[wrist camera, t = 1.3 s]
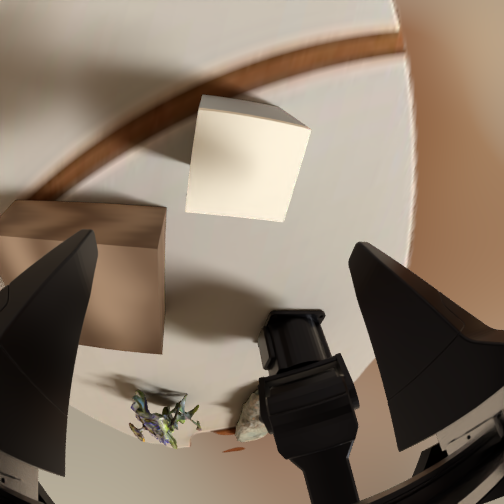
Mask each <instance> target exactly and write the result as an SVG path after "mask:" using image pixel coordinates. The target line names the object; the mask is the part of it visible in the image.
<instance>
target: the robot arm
mask: <svg viewBox="0 0 504 504" xmlns="http://www.w3.org/2000/svg"><path fill="white" fill-rule="evenodd" d="M97 259H98V248H97V243H96V238H95V233H94V231H93V230H92V229H81V230H79V231H78V232H77V233H75V234H74V235H72V236H71V237H69V238H68V239H66V240H65V241H63V242H62V243H61V244H59V245H58V246H56V247H55V248H54V249H52V250H51V251H50V252H48V253H47V254H46V255H44V256H43V257H42V258H40V259H39V260H38V261H36V262H35V263H34V264H32V265H31V266H30V267H29V268H27V269H26V270H25V271H24V272H22V273H21V274H20V275H19V276H17V277H16V278H15V279H14V280H13V281H11V282H10V283H9V285H7V286H5V287H4V288H3V289H2V290H1V291H0V504H55V503H54V502H53V501H52V500H51V498H50V497H49V496H48V495H47V493H46V491H45V490H44V489H43V487H42V486H41V484H40V483H39V482H38V468H39V469H41V470H44V471H47V472H50V473H53V474H56V475H60V476H63V477H65V448H66V447H65V446H66V429H67V415H68V406H69V398H70V390H71V383H72V377H73V371H74V365H75V360H76V354H77V349H78V345H79V340H80V335H81V331H82V327H83V323H84V318H85V315H86V311H87V307H88V303H89V299H90V295H91V290H92V284H93V278H94V273H95V268H96V263H97ZM349 269H350V273H351V277H352V280H353V285H354V289H355V293H356V297H357V300H358V304H359V307H360V310H361V313H362V315H363V318H364V322H365V325H366V328H367V331H368V334H369V337H370V340H371V344H372V347H373V350H374V354H375V357H376V360H377V364H378V367H379V371H380V374H381V378H382V381H383V386H384V389H385V393H386V397H387V400H388V406H389V410H390V414H391V418H392V423H393V427H394V432H395V437H396V442H397V447H398V450H399V452H401V451H403V450H405V449H407V448H409V447H411V446H414V445H416V444H418V443H420V442H421V441H424V440H426V439H427V438H429V437H431V436H433V435H435V434H436V436H437V439H438V443H437V444H435V445H433V446H431V447H430V448H428V449H426V450H424V451H422V452H421V455H420V458H419V461H418V463H417V466H416V468H415V471H414V474H413V476H412V478H410V479H408V480H406V481H404V482H402V483H400V484H398V485H396V486H394V487H392V488H390V489H388V490H385V491H383V492H381V493H378V494H376V495H374V496H371V497H369V498H366V499H364V500H361V501H360V500H359V497H358V493H357V489H356V485H355V481H354V477H353V474H352V470H351V466H350V463H349V455H350V452H351V449H352V446H353V443H354V440H355V438H356V434H357V429H358V422H357V418H356V415H355V411H354V410H356V409H358V408H359V400H358V396H357V393H356V389H355V386H354V384H353V381H352V379H351V376H350V374H349V372H348V369H347V367H346V365H345V363H344V360H343V358H342V356H341V353H338V354H335V356H332V355H331V352H330V350H329V347H328V344H327V341H326V339H325V336H324V333H323V330H322V328H321V325H320V324H321V323H322V321H323V319H324V318H325V313H324V311H273V312H271V313H270V314H269V317H268V319H267V322H266V324H265V326H264V327H263V328H262V330H261V333H260V335H259V338H258V347H259V349H260V355H261V360H262V365H263V369H265V370H268V372H269V376H268V377H261V378H259V385H258V390H259V404H260V406H259V421H260V422H261V423H263V424H264V425H265V427H266V429H267V431H268V433H270V434H273V435H274V438H275V442H276V445H277V449H278V452H279V453H280V454H281V455H282V456H283V457H284V458H285V459H289V460H290V461H291V462H293V463H294V464H295V465H296V466H297V467H299V468H300V469H301V470H302V471H303V474H304V477H305V481H306V485H307V489H308V492H309V496H310V500H311V504H484V503H486V502H489V501H492V500H495V499H497V498H500V497H503V496H504V330H496V329H493V328H490V327H489V326H487V325H485V324H484V323H483V322H481V321H480V320H478V319H477V318H475V317H474V316H473V315H471V314H470V313H468V312H467V311H466V310H464V309H463V308H461V307H460V306H458V305H457V304H456V303H454V302H453V301H452V300H450V299H449V298H447V297H446V296H445V295H443V294H442V293H441V292H439V291H438V290H437V289H435V288H434V287H432V286H431V285H429V284H428V283H427V282H425V281H424V280H423V279H421V278H420V277H418V276H417V275H416V274H414V273H413V272H411V271H410V270H409V269H407V268H406V267H404V266H403V265H401V264H400V263H398V262H397V261H395V260H394V259H392V258H391V257H389V256H388V255H386V254H385V253H383V252H382V251H380V250H379V249H377V248H376V247H374V246H373V245H371V244H370V243H368V242H357V243H356V245H355V247H354V249H353V251H352V254H351V256H350V258H349Z"/></svg>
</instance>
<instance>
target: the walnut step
mask: <svg viewBox="0 0 504 504" xmlns="http://www.w3.org/2000/svg"><path fill="white" fill-rule="evenodd" d="M166 210H167V208H165V207H152V206H138V205H123V204H107V203H88V202H65V201H33V200H15V201H14V202H13V203H12V204H11V206H10V207H9V208H8V209H7V210H6V211H5V212H4V213H3V214H2V215H1V217H0V275H1V277H2V279H3V282H4V284H5V286H7V285H9V283H10V282H11V281H13V280H14V279H15V278H16V277H17V276H19V275H20V274H21V273H22V272H24V271H25V270H26V269H27V268H29V267H30V266H31V265H32V264H34V263H35V262H36V261H38V260H39V259H40V258H42V257H43V256H44V255H46V254H47V253H48V252H50V251H51V250H52V249H54V248H55V247H56V246H58V245H59V244H61V243H62V242H63V241H65V240H66V239H68V238H69V237H71V236H72V235H74V234H75V233H77V232H78V231H79V230H81V229H92V230H93V231H94V233H95V238H96V243H97V248H98V259H97V263H96V268H95V273H94V278H93V284H92V290H91V295H90V299H89V303H88V307H87V311H86V315H85V318H84V323H83V327H82V331H81V335H80V340H79V345H85V346H91V347H98V348H105V349H113V350H121V351H130V352H140V353H150V354H162V349H163V334H164V320H165V231H166Z"/></svg>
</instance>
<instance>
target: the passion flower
mask: <svg viewBox="0 0 504 504" xmlns="http://www.w3.org/2000/svg"><path fill="white" fill-rule="evenodd" d="M135 393H136V395H135V396H134V397H132V398H133V399H134V400H135V402H134V403H133V404H132V406H131V409H132V410H133V411H135V413H136V418H137V419H138V420H139V421H140V422H142V423H143V427H142V428H141V429H137V428H136V427H134V425H133V424H131V423H129V426H130V428H131V430H132V431H133V432H134V434H135V435H136V436H137V437H138V439H140V440H141V441H143V442H144V441H145V439H144V436H143V435H142V431H143V430H149V432H150V434H152V435H153V436H154V437H156V439H159V441H160V442H162V443H164V444H165V445H166V442H167V443H170V444H171V446H172V447H173V448H174V449H177V445H176V440H175V439H174V438H173V437H172V435H171V433H172V432H174V429H175V428H176V429H177V430H178V426H177V424H178V423H177V422H178V421H179V422H180V423H182V424H183V423H184V422H185V420H187V419H190V420H191V417H192V416H193V414H194V413H195V412H196V411H197V410H198V408H199V405H197V406H196V407H195V408H194V409H192V410H191V411H189V412H185V411H184V408H185V400H186V396H187V394H186V395H185V396H184V398H183V399H182V401H180V402H179V403H177V404H176V406H175V408H174V409H173V410H172V411H170V406H167V407H164V409H163V411H162V415H161V414H158V413H153V414H151V413H150V412H149V410H148V405H147V400H146V397H145V395H144V394H143V392H141V391H139V390H137V391H136V392H135ZM179 411H181V412H182V413H183V414H182V413H180V412H179ZM171 413H175V416H174V418H173V417H172V414H171ZM191 421H192V422H193V423H194V424H196V425H197V428H196V429H197V430H199V431H200V430H202V429H201V427H200V423H199V421H197V423H196V422H194V421H193V420H191Z"/></svg>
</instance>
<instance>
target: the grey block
mask: <svg viewBox="0 0 504 504" xmlns="http://www.w3.org/2000/svg"><path fill="white" fill-rule="evenodd" d="M310 133H311V129H310V128H308V127H307V126H306V125H304V124H303V123H301V122H300V121H299V120H297V119H296V118H294V117H293V116H291V115H290V114H288V113H287V112H286V111H284V110H283V109H281V108H280V107H276V106H272V105H267V104H262V103H256V102H251V101H245V100H239V99H233V98H226V97H219V96H211V95H202V98H201V102H200V106H199V110H198V116H197V122H196V128H195V135H194V142H193V149H192V156H191V164H190V172H189V180H188V189H187V198H186V208H185V212H190V213H201V214H212V215H222V216H232V217H242V218H251V219H261V220H270V221H278V222H284V219H285V216H286V213H287V209H288V206H289V203H290V200H291V196H292V193H293V190H294V187H295V183H296V180H297V177H298V173H299V170H300V167H301V164H302V160H303V157H304V154H305V150H306V147H307V143H308V140H309V137H310Z"/></svg>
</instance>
